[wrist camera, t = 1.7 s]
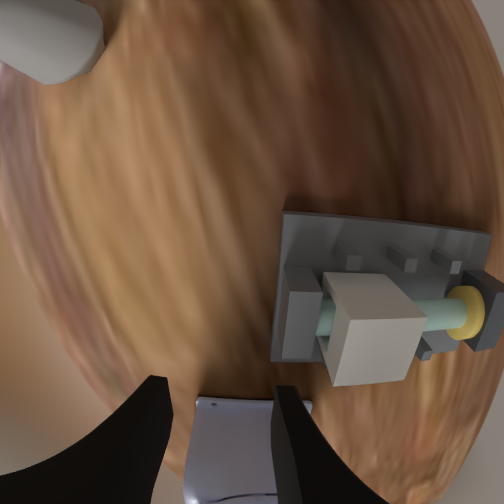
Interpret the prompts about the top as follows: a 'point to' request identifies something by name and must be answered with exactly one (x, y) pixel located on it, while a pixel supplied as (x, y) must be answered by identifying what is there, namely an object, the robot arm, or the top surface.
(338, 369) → the sleeve
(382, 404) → the top surface
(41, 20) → the salt shaker
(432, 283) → the rod slider bracket
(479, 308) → the yellow round puck
